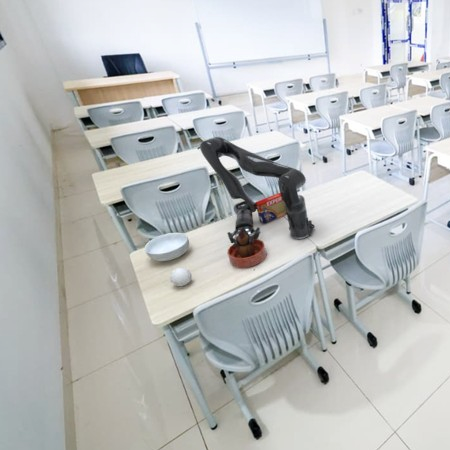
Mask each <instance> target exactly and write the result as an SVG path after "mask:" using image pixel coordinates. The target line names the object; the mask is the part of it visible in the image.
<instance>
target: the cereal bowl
mask: <svg viewBox="0 0 450 450" xmlns="http://www.w3.org/2000/svg"><path fill="white" fill-rule="evenodd" d="M189 247H190V240H189V237H188V235H187V234H185V233H183V232H169V233H163V234H161V235H158V236H156V237H154V238H152V239H150V240H149V241H148V242H147V243H146V244H145V246H144V252H145V253H146V255H147V257H148V258H150V259H151V260H154V261H158V262H168V261H173V260H175V259H177V258H179V257H181V256H183V255H184V254H185V253H186V252H187V251H188V249H189Z"/></svg>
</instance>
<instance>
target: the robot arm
mask: <svg viewBox="0 0 450 450" xmlns="http://www.w3.org/2000/svg"><path fill="white" fill-rule="evenodd" d="M199 149H200V151H201V154H202V156H203V157H204V159H205V160H206V161H207V163H208V164H209V166H210V167H211V168H212V170H213V171H214V172H215V173H216V175H217V176H218V177H219V179H220V180H221V182H222V183H223V185H224V187H225V189H226V190H227V192H228V194H229V197H230V198H231V199H232V200H240V199H241V200H242V201H240V202H237V203H236V204H234V205H233V211H234V213H235V215H236V220H235V226H234V227H235V228H234V229H235V230H234V231H233V232H230V231H228V232H227V236H228V239H229V241H230V243H231V244H234V245H235V247H238V246H239V243H238V240H237V239H238V236H239V235H240V233H239V231H240V230H241V231H243V233H244V234H247V235H248V236H249V243H250V245H252V244H253V240H254V239H259V236H260V235H261V229H260V227H256V228H254V215H253V213H255V212H257V206H256V204H255V202H256V201H254V200H253V199H252V197H250V195H249V194H248V193H247V192H246V191H245V189H244V186H243V184H242V183H241V181H240V179H239V177H237V176H236V175H235V174H234V173H233V172H232V171H230V170H228V169H227V168H226V166H224V164H223V163H222V161H221V159H220V158H222V157H229V158H231V159H233V160H235V161H236V162H237V165H238V166H239V168H241V169H242V171H245V172H246V173H248V174H250V175H253V176H257V177H267V178H275V179H278V180H277V184H278V185H277V186H278V190H279V193H281V197H282V200H283V201H284V203H285V207H286V213H287V215H286V217H287V224H288V230H289V233H290V238H292V239H294V240H304V239H306V238H308V237H310V236H312V234H311V230H312V231H313V230H314V229H315V227H316V226H315V224H313V223H312V222H313V221H312V220H309V217H308V212H307V204H306V199H305V197H304V196H303V195H301V194H299V192H298V190H300V189H301V188H302V187H303V186H305V184H306V183H307V179H306V175H304V173H303V172H301V171H300V170H299V169H297V168H294V167H290V166H288V165H284V164H281V163H278V162H276V161H273V160H271V159H268V158H266V157H263V156H261V155H259V154H256V153H255V152H252V151H250V150H247V149H245V148H242V147H240V146H238V145H237V144H234V143H233V142H230V141H229V140H227V139H226V138H223V137H221V136H214V137H210V138H208V139H205V140H203V141H201V142H200V145H199Z"/></svg>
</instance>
